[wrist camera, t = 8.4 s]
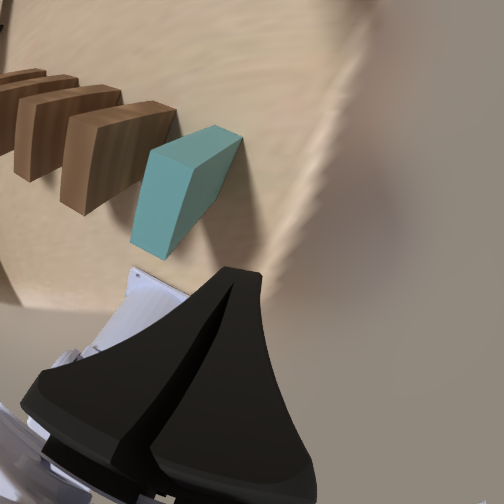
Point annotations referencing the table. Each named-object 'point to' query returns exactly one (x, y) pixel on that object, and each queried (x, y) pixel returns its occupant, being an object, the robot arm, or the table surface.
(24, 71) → the domino
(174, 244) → the teal domino
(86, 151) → the domino
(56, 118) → the domino
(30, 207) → the table surface
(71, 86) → the domino
